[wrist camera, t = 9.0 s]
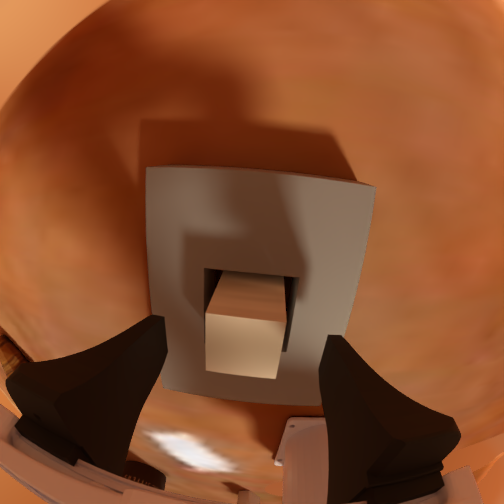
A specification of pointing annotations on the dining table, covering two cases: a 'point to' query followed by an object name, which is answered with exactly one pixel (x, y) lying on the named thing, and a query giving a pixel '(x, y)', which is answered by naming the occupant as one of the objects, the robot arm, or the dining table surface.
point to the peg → (246, 324)
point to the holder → (253, 266)
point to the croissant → (10, 356)
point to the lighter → (247, 498)
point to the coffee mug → (144, 475)
